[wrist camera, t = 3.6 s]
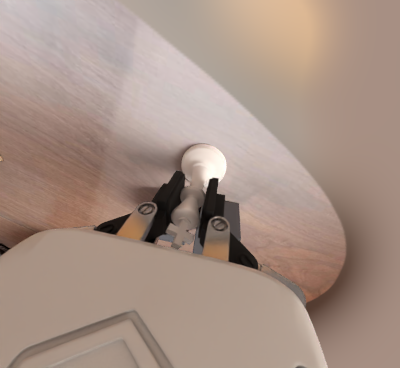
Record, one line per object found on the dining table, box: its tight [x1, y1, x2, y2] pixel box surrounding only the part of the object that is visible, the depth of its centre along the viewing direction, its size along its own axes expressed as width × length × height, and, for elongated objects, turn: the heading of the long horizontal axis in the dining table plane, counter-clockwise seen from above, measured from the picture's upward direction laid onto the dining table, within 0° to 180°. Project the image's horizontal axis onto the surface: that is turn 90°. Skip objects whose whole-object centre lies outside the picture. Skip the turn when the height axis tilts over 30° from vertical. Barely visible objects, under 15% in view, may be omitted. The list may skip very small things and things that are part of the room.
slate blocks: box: [159, 201, 241, 255], centre depth 18 cm, size 4×10×5 cm, turn 83°
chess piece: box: [166, 144, 226, 249], centre depth 12 cm, size 5×5×10 cm
